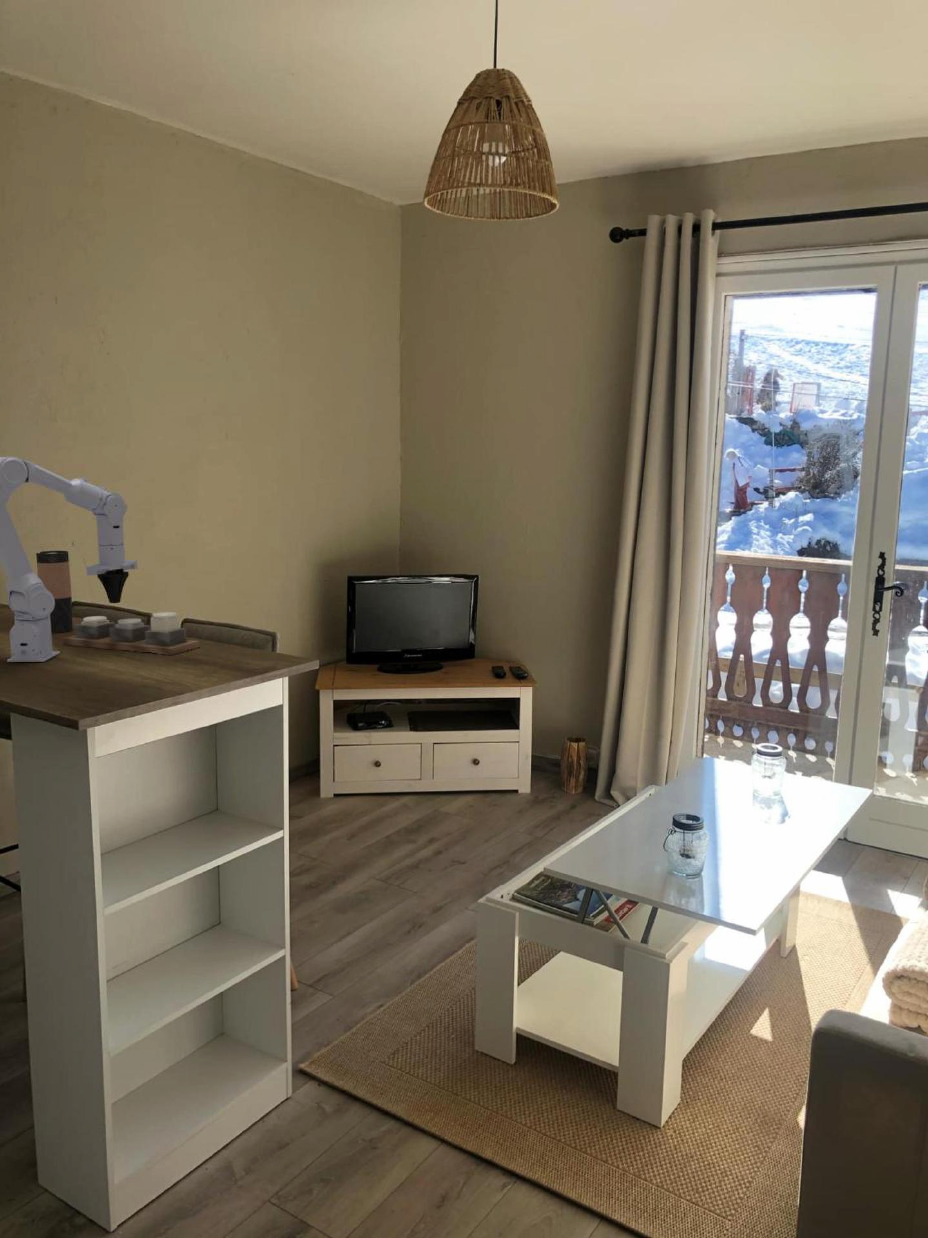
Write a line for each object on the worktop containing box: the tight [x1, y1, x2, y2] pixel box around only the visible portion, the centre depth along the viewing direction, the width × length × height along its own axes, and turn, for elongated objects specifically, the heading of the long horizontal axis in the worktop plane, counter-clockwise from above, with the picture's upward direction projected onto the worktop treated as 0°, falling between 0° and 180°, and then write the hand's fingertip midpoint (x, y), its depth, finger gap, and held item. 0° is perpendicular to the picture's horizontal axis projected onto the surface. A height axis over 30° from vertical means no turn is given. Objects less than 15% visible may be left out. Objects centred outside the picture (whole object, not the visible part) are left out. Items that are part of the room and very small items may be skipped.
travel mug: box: [35, 550, 73, 634], centre depth 256 cm, size 8×8×20 cm
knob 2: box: [116, 617, 145, 629], centre depth 236 cm, size 5×5×4 cm
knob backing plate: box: [62, 621, 201, 656], centre depth 236 cm, size 32×10×4 cm, turn 66°
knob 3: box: [150, 611, 181, 633], centre depth 232 cm, size 5×5×4 cm
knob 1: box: [80, 615, 110, 626], centre depth 240 cm, size 5×5×4 cm
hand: (114, 602), depth 237 cm, fingers closed
